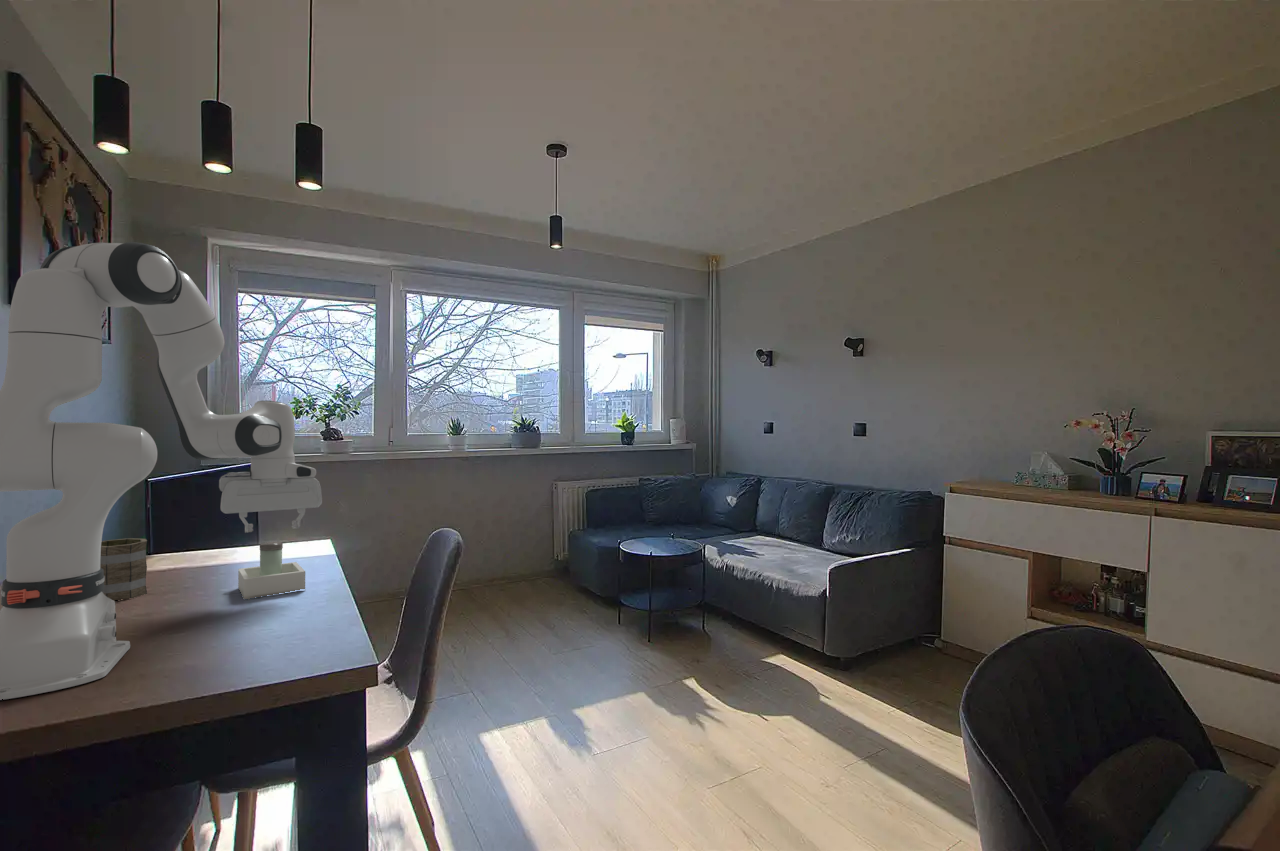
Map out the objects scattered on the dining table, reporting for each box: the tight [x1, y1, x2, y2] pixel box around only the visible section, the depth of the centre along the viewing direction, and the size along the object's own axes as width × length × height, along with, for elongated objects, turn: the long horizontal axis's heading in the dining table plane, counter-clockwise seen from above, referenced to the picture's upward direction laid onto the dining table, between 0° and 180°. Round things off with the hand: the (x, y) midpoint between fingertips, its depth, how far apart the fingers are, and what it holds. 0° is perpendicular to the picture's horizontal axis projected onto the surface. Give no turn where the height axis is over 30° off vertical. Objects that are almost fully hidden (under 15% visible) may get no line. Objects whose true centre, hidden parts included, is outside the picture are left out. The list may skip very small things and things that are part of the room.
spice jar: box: [259, 541, 284, 576], centre depth 141 cm, size 5×5×10 cm
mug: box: [100, 537, 148, 602], centre depth 137 cm, size 16×11×12 cm
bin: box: [237, 561, 306, 600], centre depth 142 cm, size 12×12×5 cm
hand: (272, 530), depth 141 cm, fingers open, 8 cm apart
